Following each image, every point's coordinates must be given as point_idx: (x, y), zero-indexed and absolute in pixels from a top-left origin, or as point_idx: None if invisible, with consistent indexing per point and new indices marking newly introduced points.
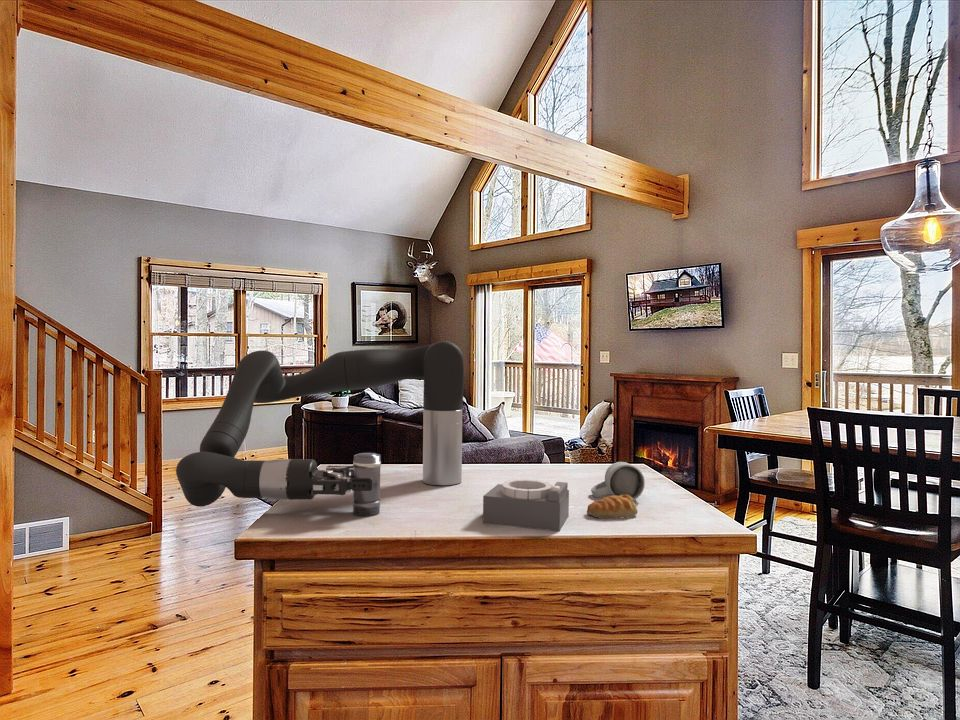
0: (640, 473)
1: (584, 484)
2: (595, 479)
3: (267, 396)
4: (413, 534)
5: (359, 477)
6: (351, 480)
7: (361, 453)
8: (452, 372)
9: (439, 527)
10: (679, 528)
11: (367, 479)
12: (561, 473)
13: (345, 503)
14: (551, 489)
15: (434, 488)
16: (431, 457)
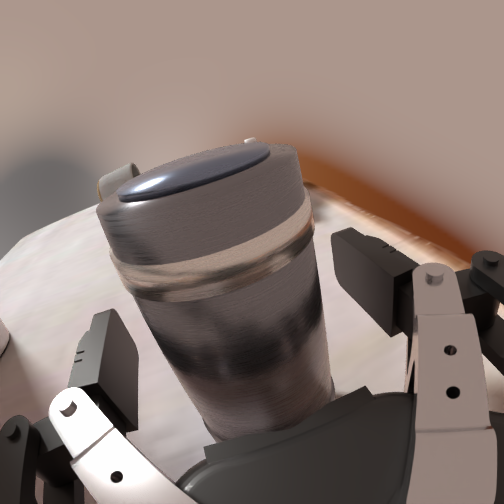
0: (137, 168)
1: (69, 234)
2: (53, 237)
3: None
4: (395, 247)
5: (318, 290)
6: (401, 289)
7: (148, 186)
8: None
9: (327, 242)
10: None
11: (357, 235)
12: (16, 262)
13: None
14: (254, 141)
15: (15, 355)
16: None
